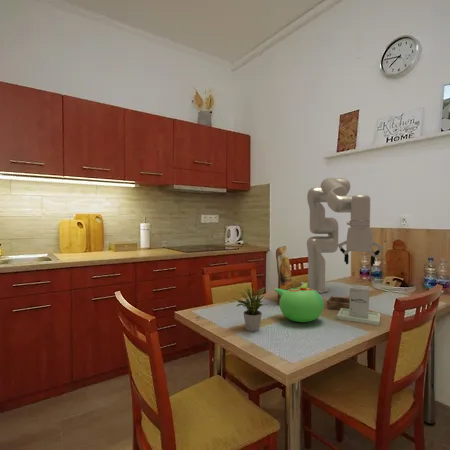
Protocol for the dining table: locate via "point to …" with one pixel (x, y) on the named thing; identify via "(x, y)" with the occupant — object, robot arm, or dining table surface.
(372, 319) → the tray
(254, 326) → the house plant
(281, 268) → the pancake mix bag
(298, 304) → the round teapot
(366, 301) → the supplement box
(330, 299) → the caddy
